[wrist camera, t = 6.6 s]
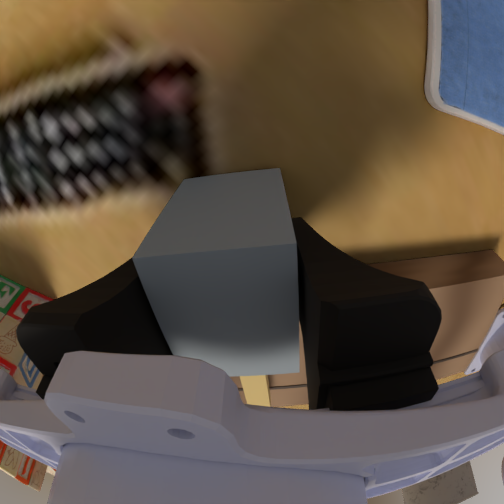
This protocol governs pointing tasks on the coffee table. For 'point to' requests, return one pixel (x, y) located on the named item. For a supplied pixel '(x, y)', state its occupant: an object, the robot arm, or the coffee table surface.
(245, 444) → the robot arm
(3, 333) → the stack of blocks
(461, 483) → the concrete cylinder
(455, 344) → the board
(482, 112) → the tablet computer
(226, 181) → the toy hammer
